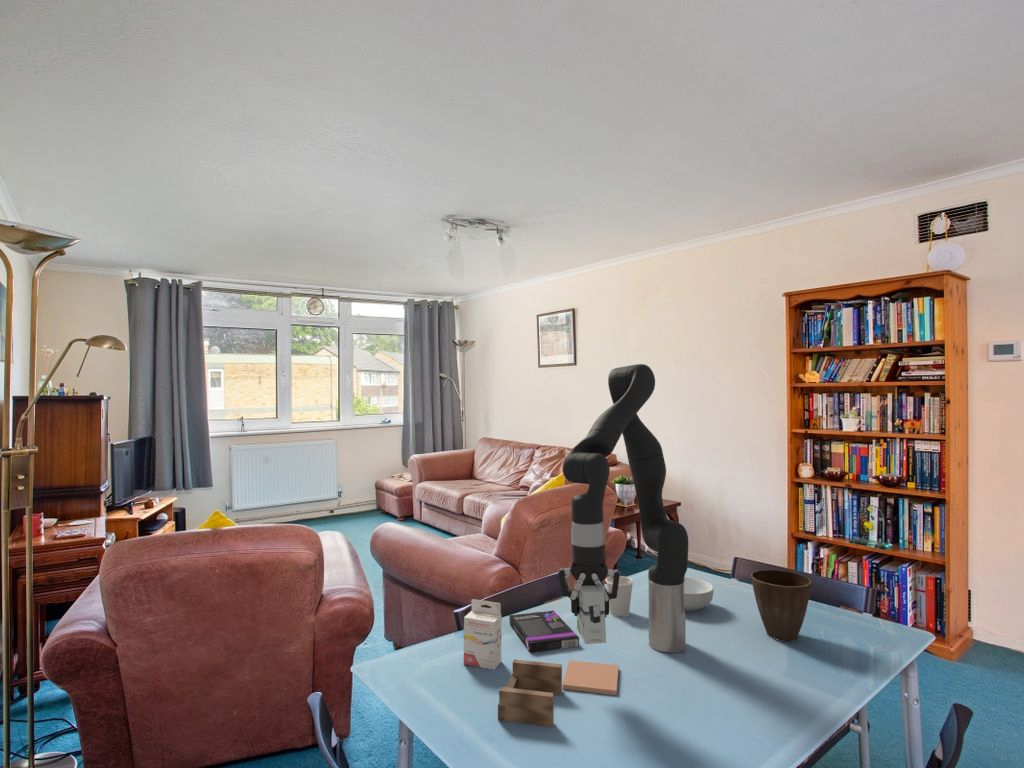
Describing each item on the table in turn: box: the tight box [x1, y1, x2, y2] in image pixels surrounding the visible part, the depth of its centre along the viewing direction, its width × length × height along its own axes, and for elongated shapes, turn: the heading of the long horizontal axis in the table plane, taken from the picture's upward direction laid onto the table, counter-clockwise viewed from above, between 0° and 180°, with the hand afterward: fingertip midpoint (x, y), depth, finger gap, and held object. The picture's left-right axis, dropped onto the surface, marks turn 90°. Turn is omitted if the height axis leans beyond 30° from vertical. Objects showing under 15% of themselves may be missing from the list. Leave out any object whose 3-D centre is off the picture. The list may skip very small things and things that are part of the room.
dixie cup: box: [604, 575, 634, 618], centre depth 172 cm, size 8×8×10 cm
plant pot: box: [750, 569, 812, 642], centre depth 156 cm, size 15×15×16 cm
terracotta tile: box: [562, 659, 619, 696], centre depth 132 cm, size 12×12×1 cm
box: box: [508, 610, 580, 654], centre depth 157 cm, size 14×4×20 cm
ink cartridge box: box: [463, 598, 503, 671], centre depth 140 cm, size 9×5×15 cm, turn 71°
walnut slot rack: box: [497, 659, 563, 728], centre depth 121 cm, size 11×14×6 cm
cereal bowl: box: [684, 576, 714, 612], centre depth 178 cm, size 17×17×7 cm
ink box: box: [576, 585, 607, 645], centre depth 128 cm, size 9×5×12 cm, turn 6°
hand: (590, 615), depth 128 cm, fingers closed on ink box, 5 cm apart
